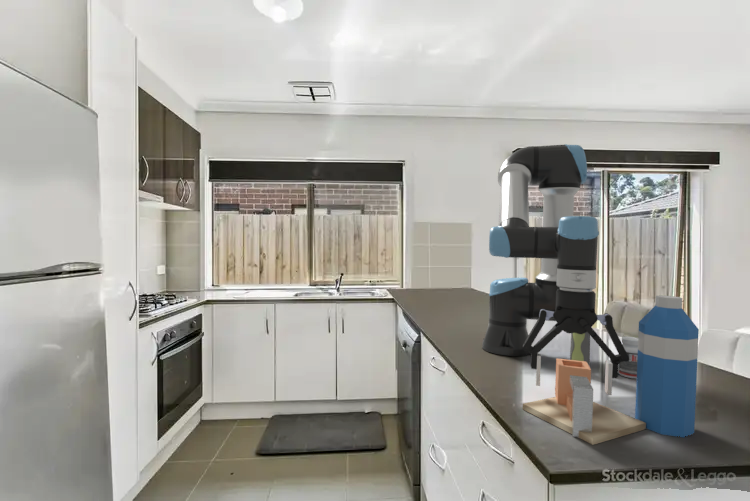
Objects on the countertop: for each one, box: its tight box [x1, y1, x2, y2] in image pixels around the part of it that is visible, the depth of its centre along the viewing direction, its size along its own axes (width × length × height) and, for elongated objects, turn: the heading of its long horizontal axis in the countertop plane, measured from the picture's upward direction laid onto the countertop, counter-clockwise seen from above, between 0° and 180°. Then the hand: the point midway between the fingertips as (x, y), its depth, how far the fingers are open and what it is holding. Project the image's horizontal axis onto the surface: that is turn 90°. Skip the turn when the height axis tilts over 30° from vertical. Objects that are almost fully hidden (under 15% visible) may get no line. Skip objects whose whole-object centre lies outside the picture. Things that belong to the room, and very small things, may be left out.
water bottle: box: [634, 294, 700, 438], centre depth 78 cm, size 9×9×25 cm
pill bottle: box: [618, 336, 638, 380], centre depth 108 cm, size 6×6×10 cm
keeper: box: [570, 375, 594, 438], centre depth 76 cm, size 7×3×9 cm, turn 161°
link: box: [554, 357, 592, 421], centre depth 83 cm, size 14×6×8 cm, turn 161°
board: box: [522, 396, 647, 446], centre depth 81 cm, size 16×15×1 cm
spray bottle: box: [569, 332, 591, 368], centre depth 110 cm, size 5×5×20 cm
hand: (571, 388), depth 87 cm, fingers open, 13 cm apart
